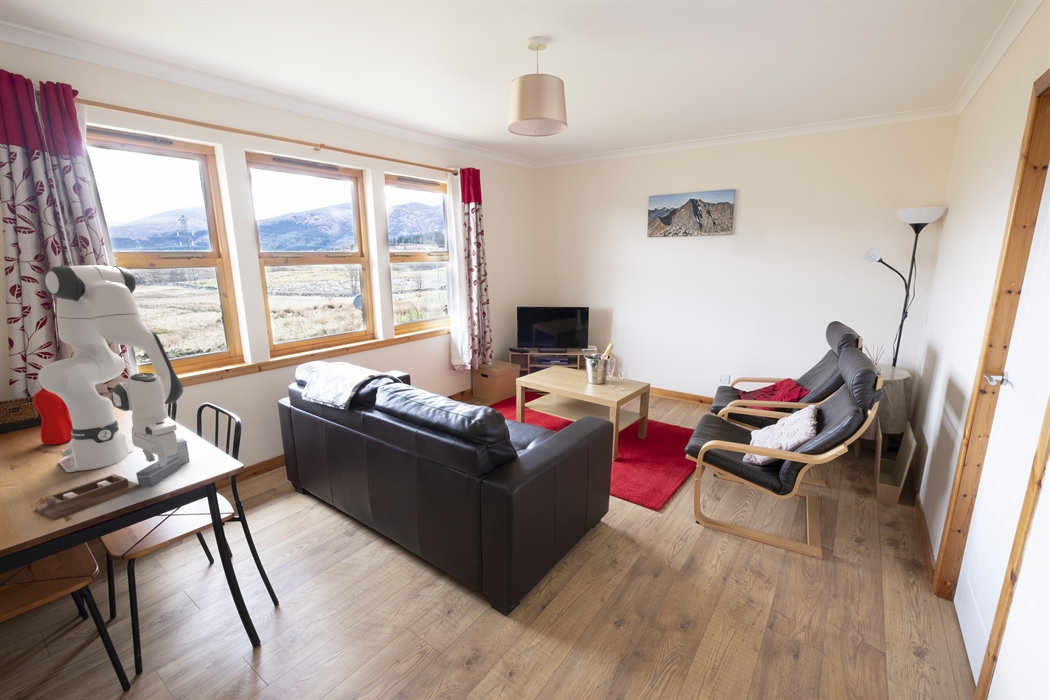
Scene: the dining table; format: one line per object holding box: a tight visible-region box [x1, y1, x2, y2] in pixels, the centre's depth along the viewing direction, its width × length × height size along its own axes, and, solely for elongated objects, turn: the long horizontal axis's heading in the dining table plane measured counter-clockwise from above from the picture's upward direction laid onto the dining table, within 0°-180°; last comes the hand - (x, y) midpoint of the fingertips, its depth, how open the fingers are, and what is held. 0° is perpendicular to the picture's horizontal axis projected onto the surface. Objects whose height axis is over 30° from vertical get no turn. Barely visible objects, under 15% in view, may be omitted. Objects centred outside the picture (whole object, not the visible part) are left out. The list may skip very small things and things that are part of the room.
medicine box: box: [157, 438, 190, 466], centre depth 158 cm, size 8×4×9 cm, turn 141°
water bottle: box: [33, 385, 73, 446], centre depth 180 cm, size 9×11×25 cm
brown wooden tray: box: [34, 473, 141, 520], centre depth 136 cm, size 12×20×4 cm, turn 155°
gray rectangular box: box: [135, 456, 180, 488], centre depth 149 cm, size 4×12×5 cm, turn 1°
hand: (156, 463), depth 148 cm, fingers open, 6 cm apart
